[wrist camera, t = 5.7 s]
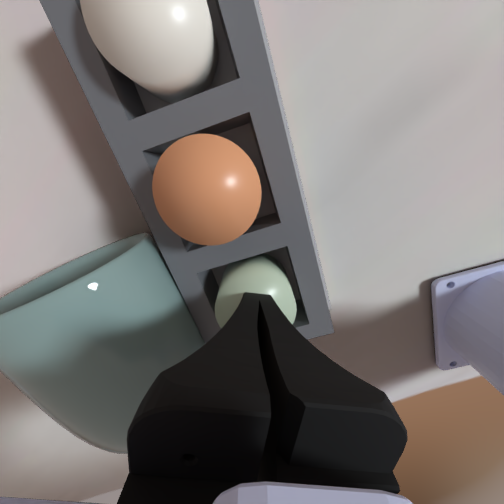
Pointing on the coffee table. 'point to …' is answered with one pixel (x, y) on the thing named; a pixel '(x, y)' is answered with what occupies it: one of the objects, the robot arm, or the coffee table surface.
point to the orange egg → (206, 189)
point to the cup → (96, 338)
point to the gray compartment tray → (216, 123)
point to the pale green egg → (254, 286)
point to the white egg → (156, 43)
